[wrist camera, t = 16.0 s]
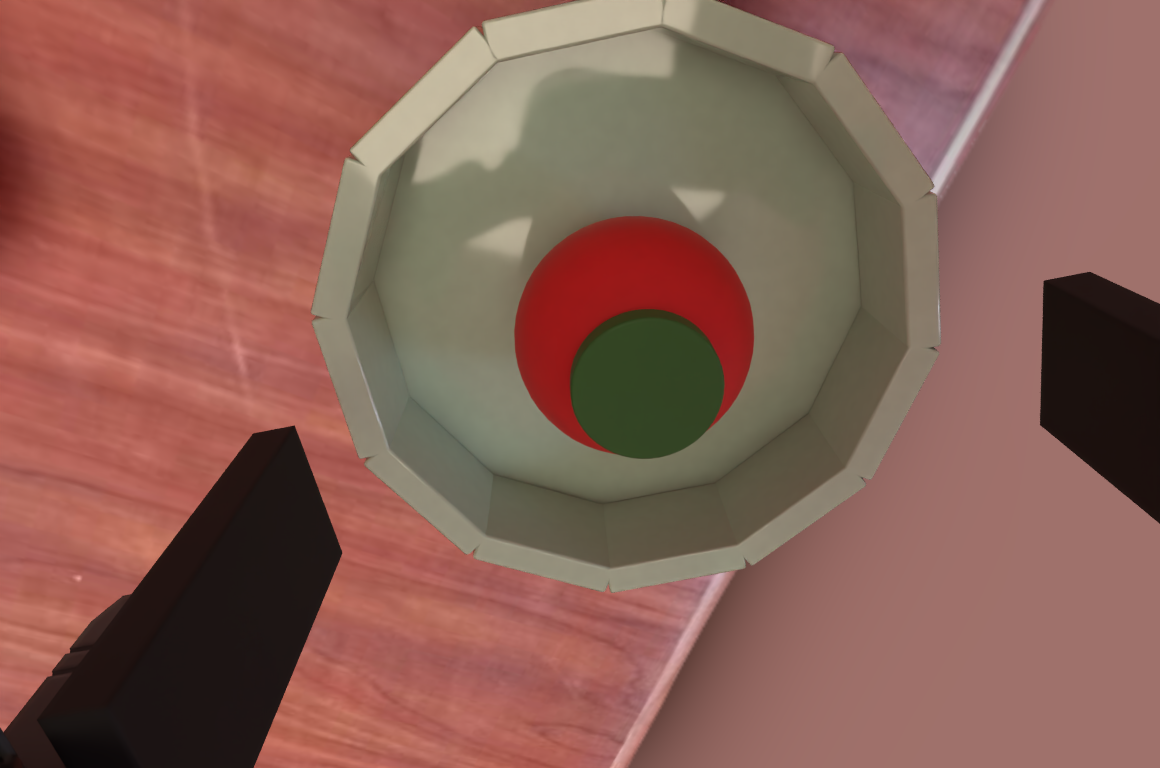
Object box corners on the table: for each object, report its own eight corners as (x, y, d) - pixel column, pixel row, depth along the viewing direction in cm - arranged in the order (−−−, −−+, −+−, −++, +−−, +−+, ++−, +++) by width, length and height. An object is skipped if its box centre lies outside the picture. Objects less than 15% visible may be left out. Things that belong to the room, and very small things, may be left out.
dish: (740, -25, 32) (932, -78, 16) (778, 317, 37) (947, 532, 21) (384, 53, 32) (224, 77, 16) (473, 377, 38) (417, 629, 22)
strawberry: (709, 171, 21) (771, 227, 15) (736, 367, 23) (799, 484, 17) (497, 215, 21) (477, 287, 15) (543, 405, 23) (541, 532, 17)
